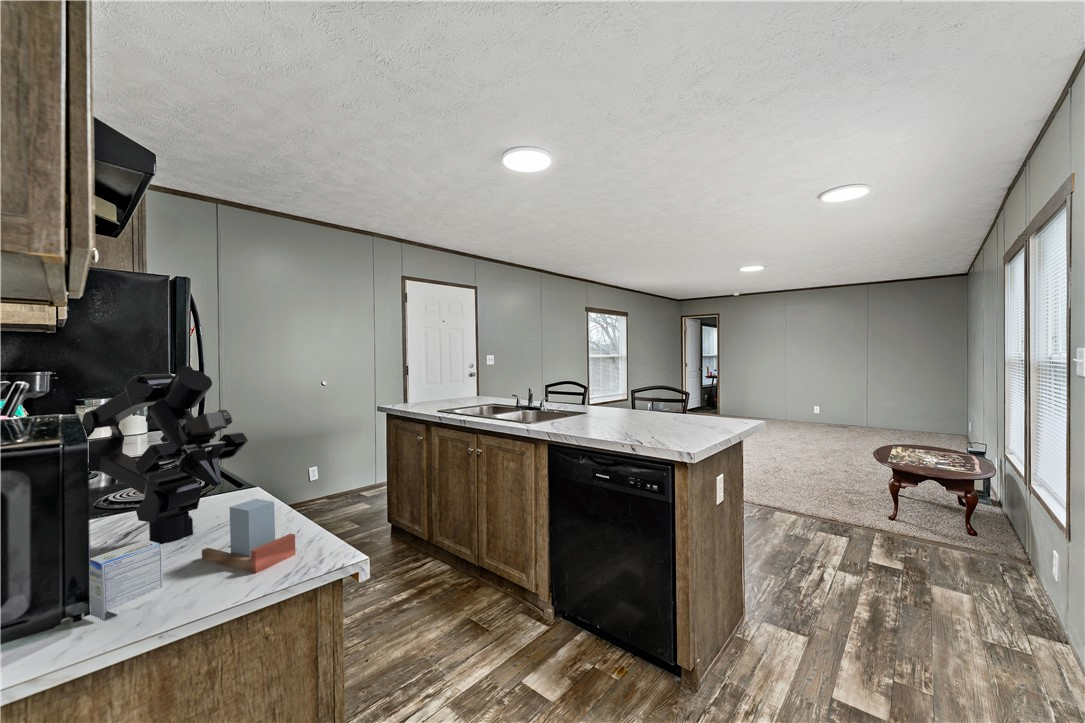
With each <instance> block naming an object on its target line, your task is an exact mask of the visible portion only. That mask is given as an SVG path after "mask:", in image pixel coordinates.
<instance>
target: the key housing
mask: <svg viewBox="0 0 1085 723" xmlns="http://www.w3.org/2000/svg"><path fill="white" fill-rule="evenodd" d="M293 556H294V557H295V556H296V534H294V533H288V534H286V535H283V536H281V537H279V538H277V539H276V538H275V540H274V541H272V542H269V543H267V544H265V545H262V546H260V547H258V548H255V549H253V550H251V558H249V557H245V556H241V555H236V554H232V553H231V552H227V551H223V550H219V549H215V548H210V547H205V548H202V550H201V560H203V561H206V562H210V563H214V564H217V565H221V566H226V567H230V568H232V569H233V568H234V569H237V570H242V571H245V572H249V573H253V574H258V573H260V572H263V571H265V570H266V569H269V568H271V567H272V566H275V565H277V564H280V563H281V562H283V561H285V560H287V559H290V558H292V557H293Z"/></svg>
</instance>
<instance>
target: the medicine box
mask: <svg viewBox="0 0 1085 723" xmlns="http://www.w3.org/2000/svg"><path fill="white" fill-rule="evenodd" d="M89 559H90V605H91V615H90V616H92V617H94V616H95V617H94V618H96V617H98V618H97V619H99V618H100V619H99V620H101V619H102V620H101V621H107V620H108V619H111V618H113V617H115V616H118V614H117V613H115V612H111V611H110V610H112V609H115V608H117V607H120V606H122V605H124V604H127V603H129V602H133V601H134V600H136V599H138V598H141V597H143V596H145V595H148V594H150V593H152V592H155V591H157V590H160V589H162V588H164V577H163V576H164V573H163V570H164V569H163V566H164V565H163V544H162V545H161V544H159V543H156V542H152V541H149V540H148V539H145V540H141V541H137V542H136V543H132V544H128V545H126V546H123V547H120V548H117V549H113V550H111V551H108V552H106V553H102V554H99V555H96V556H93V557H91V558H90V557H89Z"/></svg>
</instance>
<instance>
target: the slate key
mask: <svg viewBox="0 0 1085 723" xmlns="http://www.w3.org/2000/svg"><path fill="white" fill-rule="evenodd" d="M275 522H276V520H275V501H271V500H266V499H265V500H264V499H260V498H253V499H250V500H247V501H244V502H242V503H239V504H235V505H231V506H230V507H229V529H230V530H229V531H230V532H229V534H230V535H229V536H230V538H229V539H230V540H229V541H230V553H232V554H236V555H241V556H245V557H249V558H251V550H253V549H255V548H258V547H260V546H262V545H265V544H267V543H269V542H272V541H274V540H276V527H275V526H276V525H275Z"/></svg>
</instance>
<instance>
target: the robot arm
mask: <svg viewBox="0 0 1085 723" xmlns="http://www.w3.org/2000/svg"><path fill="white" fill-rule="evenodd" d="M212 386H213V381H212V379H211V378H210V376H208V375H207V374H205V373H203V372H201V371H198V370H195V369H194V368H193V367H192V366H191V365H189V366H188V365H187V366H179V368H178V369H177V370H176V372H175V374H174V376H173V374H171V373H154V374H153V373H152V374H137V375H135V376H133V377H132V378H131V379H129V380H128V381H127V383H126V384H125V385H124V388H125V390H124V391H123V392H121V393H120V394H118V395H116V396H115V397H113V398H111V399H110V400H107V401H106V402H104V403H103V404H101V405H99V406H97V407H95V408H93V409H90V410H89V411H85V413H84V414H83V417H82V421H81V424H82V425H83V426H84V429H85V431H86V434H87V437H88V438H90V436H92V434H93V433H94V432H95V429H101V428H108V427H109V428H110V430H111V435H110V436H109V437H104V438H95V439H90V440H88V441H89V472H92V473H93V472H95V473H99V472H101V473H103V474H104V475H106V476H108V477H111V478H112V479H114V480H116V481H118V482H120V483H122V484H123V485H125V486H127V487H129V488H130V489H133V490H134V491H137V492H139V493H140V494H142V495H143V500H142V501H141V503H140V504H139V505H138V507H137V508H136V510H135V513H136V517H137V519H138V521H139V522H140V521H141V522H145V523H148V534H149V536H148V537H149V538H148V539H149V540H148V541H152V542H156V543H159V544H161V545H162V546H163V545H164V544H168V543H173V542H177V541H180V540H183V539H184V538H188V537H190V536H191V537H192V536H193V535H194V524H193V522H194V520H193V517H192V516H191V515H190V511H194V510H198V508H199V504H200V500H201V496H202V491H203V487H202V485H201V482H200V481H202V482H203V483H206V484H208V485H209V486H212V487H214V488H215V487H219V486H220V485H221V484H222V477H221V476H222V475H221V468H220V461H221V460H222V461H223V460H226V459H231V458H233V457H235V456H236V454H237V453H238V452H239V451H240V450H241V449H242V448H243V447H244V446H245V445H246V444H247V442H249V440H248V438H247V437H246V435H245V434H244V432H233V433H225V434H223V435H222V436H221V437H220V438H219V439H218V440H217V441H215V442H211V440H214V439H215V438H216V436H217V434H216V432H218V431H221V430H222V429H224V430H225V429H227V428H228V426H229V425H231V424H232V423H233V419H232V418H233V417H232V415H231V414H230V412H229V411H228V410H227V409H219V410H217V412H216V411H214V412H207V413H201V414H199V415H198V416H194V415H193V413H192V411H191V409H194V408H195V407H197V406H198V405H199V403H200V402H201V401H202V400H203V398H204V397H205V395H206V394H207V393H208V391H209V390H210V389H211V387H212ZM148 406H151V408H149V409H148V412H147V415H146V416H145V422H146V423H152V422H155V424H156V426H157V427H158V428H159V430H160V431H161V432H162V434H163V435H162V436H161V437H160V441H161V443H155V444H154V443H153V444H150V445H149V446H148V447H147V448H146V450H145V451H143V453H142V455H140V457H139V458H138V459H135V458H134V457H131V456H130V455H128V454H126V453H124V452H123V450H124V442H125V435H124V434H123V432H122V431H121V429H120V423H121V421H123V420H124V419H127V418H128V417H130V416H132V415H133V414H135V413H137V412H139V411H141V410H142V409H145V408H146V407H148ZM170 461H175V462H176V465H177V466H176V467H175V468H173V469H169V470H164V471H160V469H161V467H162V466H161V464H160V463H165V462H170Z"/></svg>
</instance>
